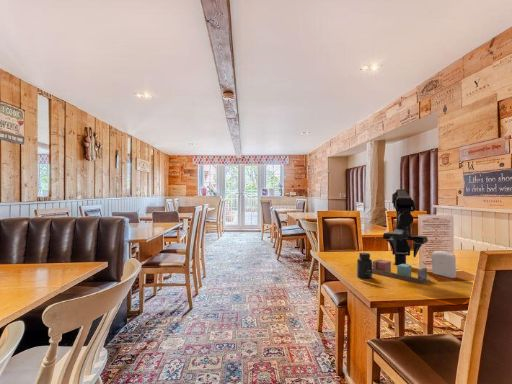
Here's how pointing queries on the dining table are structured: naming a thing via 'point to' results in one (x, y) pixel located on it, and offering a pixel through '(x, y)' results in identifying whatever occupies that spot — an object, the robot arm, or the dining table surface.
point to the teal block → (404, 269)
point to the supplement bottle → (364, 266)
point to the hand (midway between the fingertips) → (404, 255)
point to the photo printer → (444, 264)
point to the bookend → (423, 274)
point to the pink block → (384, 265)
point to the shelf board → (394, 274)
